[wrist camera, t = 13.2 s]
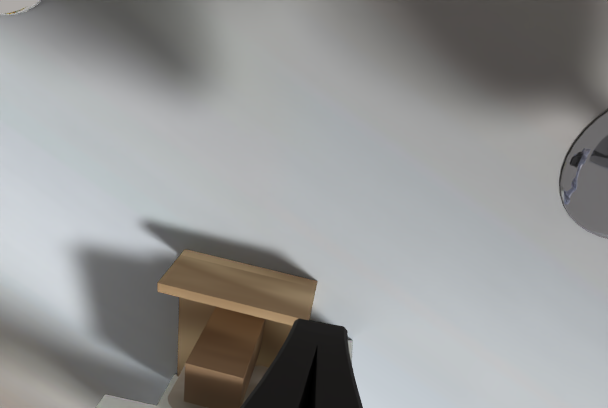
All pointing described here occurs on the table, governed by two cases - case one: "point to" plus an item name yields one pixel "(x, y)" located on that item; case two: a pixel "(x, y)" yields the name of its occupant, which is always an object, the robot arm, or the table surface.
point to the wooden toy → (229, 325)
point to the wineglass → (16, 6)
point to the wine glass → (588, 179)
